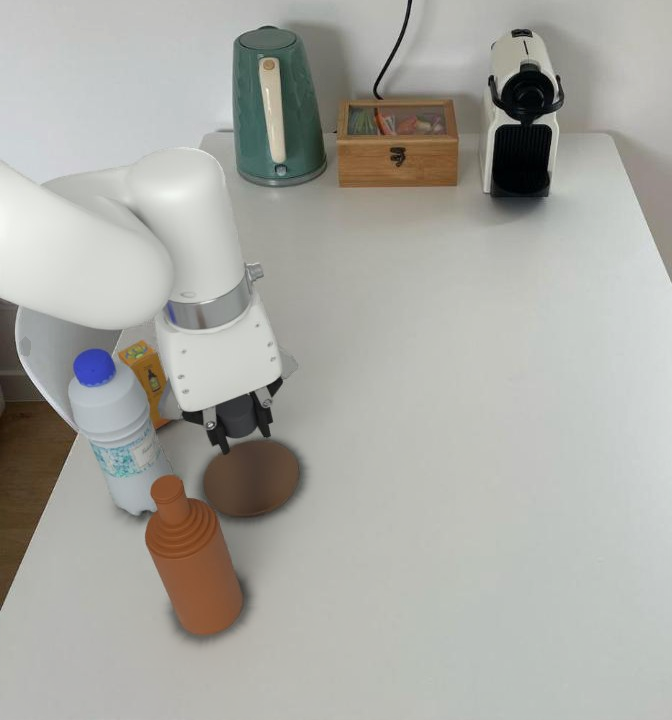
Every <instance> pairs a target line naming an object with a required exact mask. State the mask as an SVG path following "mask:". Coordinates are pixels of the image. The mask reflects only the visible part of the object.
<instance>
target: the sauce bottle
mask: <svg viewBox="0 0 672 720" xmlns="http://www.w3.org/2000/svg"><path fill="white" fill-rule="evenodd" d="M150 495H151V497H152V499H153V500H154V502H155V504H156V507H157V509H158V510H157V511H156V512H153V513H152V515H151V516H150V517H149V520H148V521H147V524H146V527H145V532H144V542H145V545H146V547H147V550H148V552H149V555H150V557H151V559H152V562H153V564H154V566H155V569H156V571H157V574H158V575H159V578H160V581H161V582H162V584H163V587H164V589H165V592H166V594H167V596H168V598H169V600H170V603H171V606H172V608H173V611H174V612H175V615H176V617H177V620H178V621H179V623H180V625H181V626H182V627H183V629H185V630H186V631H187V632H189V633H191V634H194V635H198V636H209V635H210V636H211V635H215V634H218V633H221V632H222V631H224V630H226V629H227V628H228V627H230V626H231V625H233V623H234V622H235V621H236V619H238V617H239V615H240V614H241V611H242V608H243V603H244V598H243V593H242V589H241V586H240V583H239V579H238V577H237V574H236V570H235V567H234V564H233V561H232V558H231V554H230V551H229V548H228V545H227V543H226V538H225V536H224V533H223V529H222V526H221V523H220V520H219V518H218V514H217V512H216V511H215V508H213V507H212V506H211V505H210V504H208V503H207V502H206V501H203V500H201V499H199V498H193V497H187V494H186V490H185V484H184V481H183V480H182V479H181V478H180V477H178V476H177V475H174V474H173V475H165V476H162V477H160V478H158V479H157V480H155V481H154V483H153V484H152V486H151V491H150Z"/></svg>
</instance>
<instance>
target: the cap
mask: <svg viewBox="0 0 672 720" xmlns="http://www.w3.org/2000/svg"><path fill="white" fill-rule="evenodd" d="M215 406H216V415H217V417H218V419H219V420H220V421H221V423H222V425H223V427H224V431H225V434H226V438H230V439H242V438H245V437H248V436H250V435H252V434H253V433H254V432H255V431H256V429H257V428H258V418H257V414H256V410H255V406H254V401H253V399H252V397H251V396H250V394H249V393H246V394H243V395H241V396H238V397H236V398H233V399H230V400H228V401H225V402H222V403H220V404H217V405H215Z"/></svg>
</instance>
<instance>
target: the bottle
mask: <svg viewBox="0 0 672 720" xmlns="http://www.w3.org/2000/svg"><path fill="white" fill-rule="evenodd" d="M72 368H73V369H72V370H73V373H74V376H73V377H72V378H71V380H70V382H69V384H68V387H67V395H68V398H69V403H70V407H71V411H72V417H73V420H74V422H75V425H77V427H78V430H79V432H80V433H81V434H82V435H83V436H84V437H85V438H87V440H88V442H89V444H90V447H91V449H92V450H93V453H94V456H95V458H96V460H97V462H98V464H99V467H100V469H101V470H102V474H103V476H104V480H105V483H106V486H107V489H108V491H109V494H110V496H111V498H112V500H113V502H114V504H115V505H116V506H117V507H118V508H120V509H123V510H125V511H127V512H128V513H129V514H130V515H132V516H136V517H137V516H138V517H139V516H140V515H142V513H143V512H144V511H150V512H152V513H155V512H156V511H157V510H158V509H157V507H156V504H155V502H154V500H153V499H152V497H151V495H150V491H151V486H152V484H153V483H154V481H155V480H157V479H158V478H160V477H162V476H165V475H174V474H173V470H172V468H171V465H170V463H169V461H168V459H167V457H166V455H165V453H164V451H163V449H162V446H161V444H160V443H161V442H160V441H159V438H158V436H157V433H156V430H155V429H154V427H153V424H152V421H151V419H150V416H149V413H150V405H149V402H148V400H147V394H146V392H145V390H144V389H143V388H142V386H141V384H140V382H139V381H138V379H137V377H136V375H135V374H134V372H133V370H132V369H131V368H130V367H129V366H127V365H126V364H124V363H121V361H114V359H113V357H112V356H111V354H110V353H109V352H108V351H107V350H105V349H102V348H90V349H86V350H83V351H82V352H80V353H79V354H78V355H77V356H76V357H75V359H74V361H73V364H72Z"/></svg>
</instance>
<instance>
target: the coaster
mask: <svg viewBox="0 0 672 720" xmlns="http://www.w3.org/2000/svg"><path fill="white" fill-rule="evenodd" d="M229 448H230V452H229V454H226V455H223V453H222V451H221V452H220V453H218V454H217V455H216V456H215V457H214V458H213V460H212V461H211V462H210V463H209V465H208V466H207V468H206V469H205V472H204V475H203V481H202V488H203V492H204V495H205V498H206V500H207V502H208V503H209V505H210V507H212V508H213V509H214V510H216V511H217V512H219V513H220V514H223V515H225V516H227V517H232V518H237V519H251V518H257V517H261V516H263V515H266V514H269V513H271V512H273V511H275V510H277V509H279V508H281V506H283V505H284V504H285V503H286V502H287V501H288V500H289V499H290V498H291V497H292V496H293V494H294V492H295V491H296V489H297V486H298V484H299V480H300V470H299V465H298V462H297V460H296V458H295V456H294V454H292V452H291V451H290V450H289V449H287V448H286V447H285V446H283V445H282V444H279V443H276V442H274V441H269V440H261V439H258V440H257V439H256V440H248V441H243V442H240V443H236V444H233V445H232V446H229Z"/></svg>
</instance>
